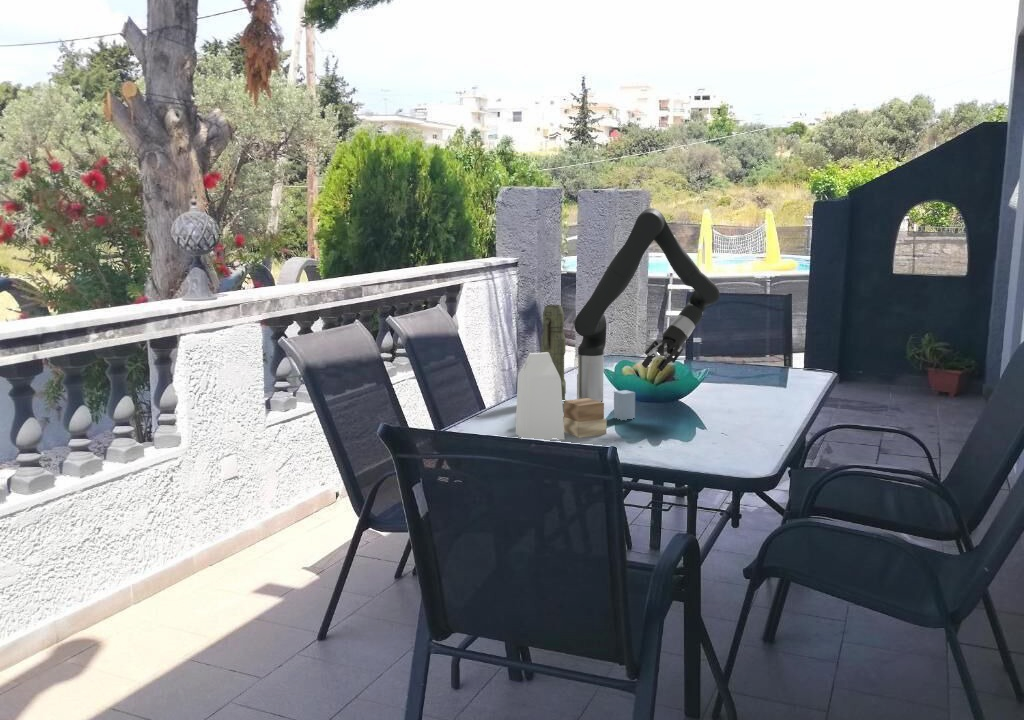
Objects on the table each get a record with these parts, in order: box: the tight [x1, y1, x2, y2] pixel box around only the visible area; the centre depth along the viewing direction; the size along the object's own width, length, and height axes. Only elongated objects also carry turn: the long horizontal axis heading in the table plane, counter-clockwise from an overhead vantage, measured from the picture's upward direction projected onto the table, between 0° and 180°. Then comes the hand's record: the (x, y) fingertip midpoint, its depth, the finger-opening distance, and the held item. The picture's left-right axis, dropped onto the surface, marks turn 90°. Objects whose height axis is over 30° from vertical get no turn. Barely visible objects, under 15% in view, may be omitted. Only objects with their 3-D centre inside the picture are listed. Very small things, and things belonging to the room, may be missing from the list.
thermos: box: [540, 304, 567, 401], centre depth 329 cm, size 9×12×35 cm
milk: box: [515, 352, 565, 441], centre depth 275 cm, size 12×12×26 cm
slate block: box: [613, 389, 636, 421], centre depth 300 cm, size 5×5×9 cm
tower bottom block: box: [563, 415, 608, 439], centre depth 281 cm, size 10×10×5 cm
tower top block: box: [563, 398, 605, 422], centre depth 281 cm, size 9×9×5 cm
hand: (651, 368), depth 303 cm, fingers open, 8 cm apart
